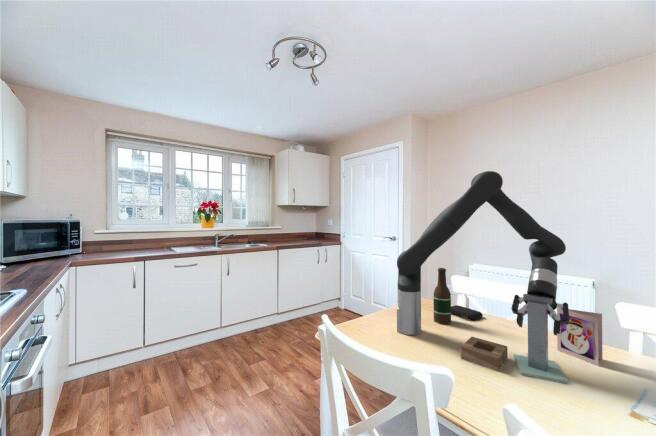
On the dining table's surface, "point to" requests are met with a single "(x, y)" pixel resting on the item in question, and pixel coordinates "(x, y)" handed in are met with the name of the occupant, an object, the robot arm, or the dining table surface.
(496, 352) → the socket block
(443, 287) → the beer bottle
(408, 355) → the dining table surface
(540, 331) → the t key
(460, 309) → the carrying case or bag
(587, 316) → the greeting card
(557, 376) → the pad
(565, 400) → the dining table surface
